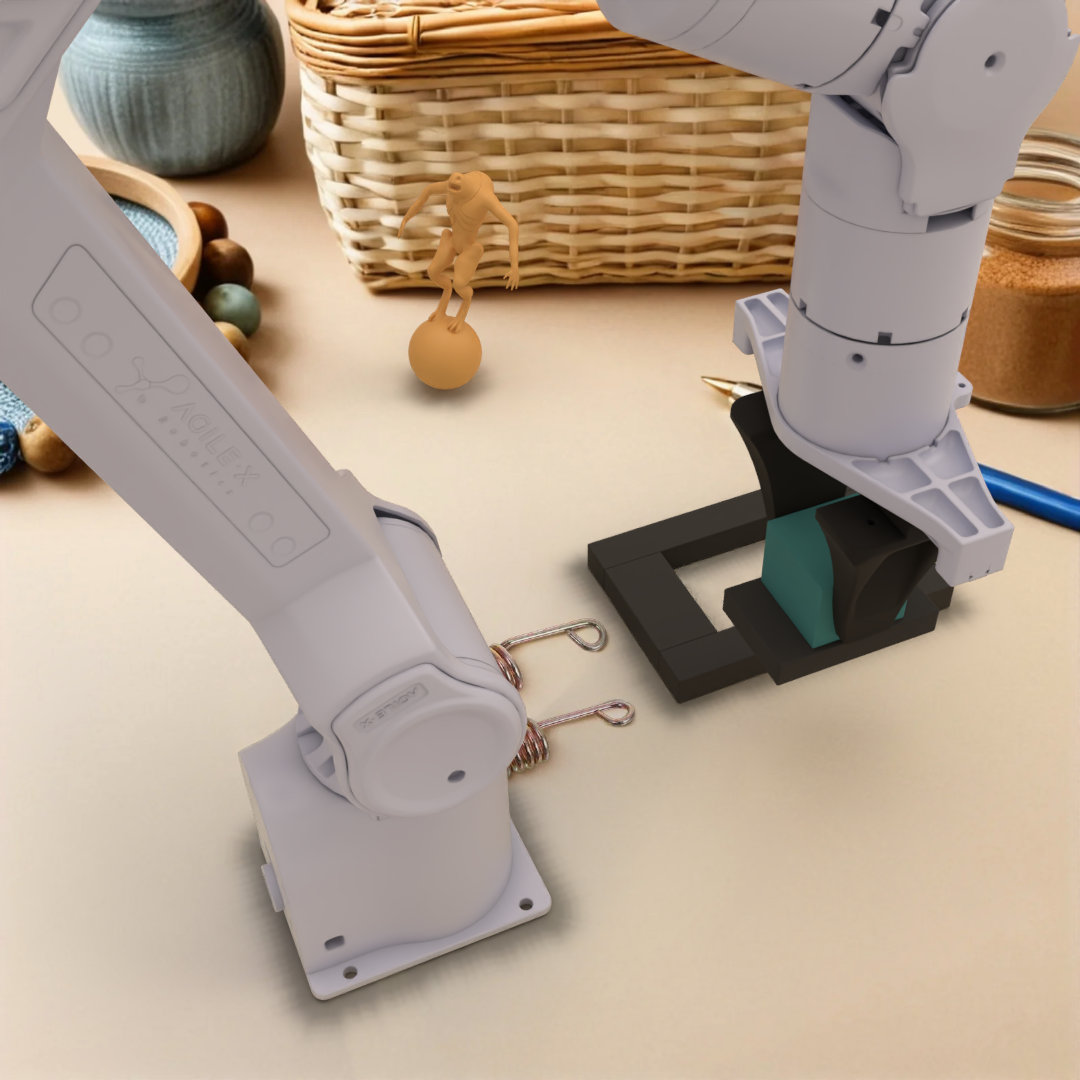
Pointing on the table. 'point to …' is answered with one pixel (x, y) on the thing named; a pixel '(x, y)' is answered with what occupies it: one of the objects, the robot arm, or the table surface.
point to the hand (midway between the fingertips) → (831, 591)
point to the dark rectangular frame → (668, 607)
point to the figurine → (457, 280)
